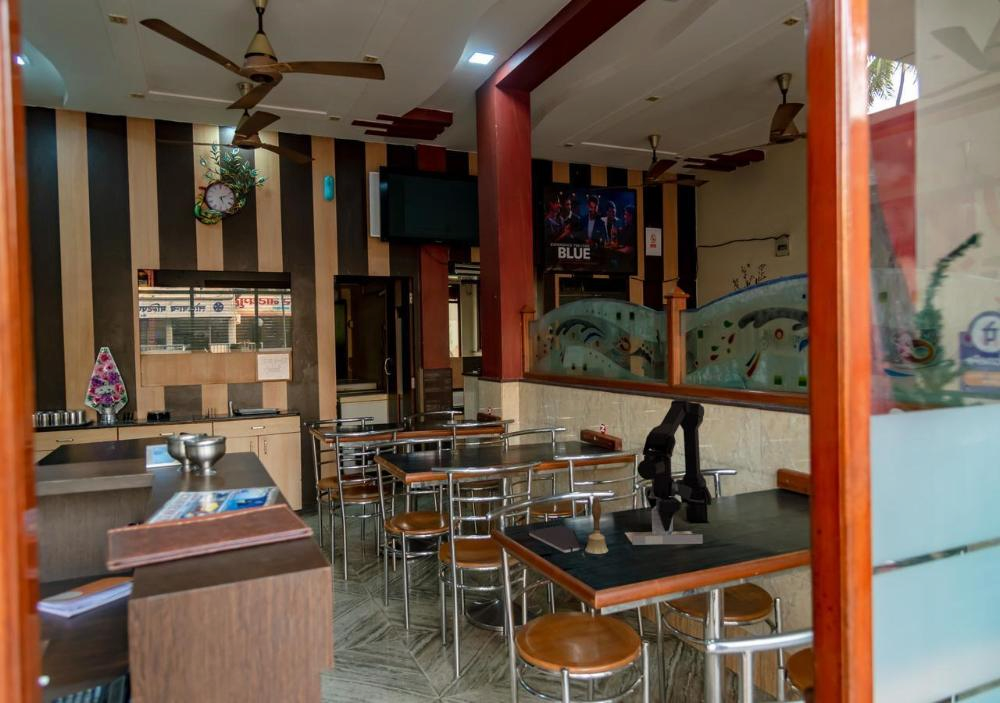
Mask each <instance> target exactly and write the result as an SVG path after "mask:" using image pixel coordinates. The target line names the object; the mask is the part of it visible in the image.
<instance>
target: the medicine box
mask: <svg viewBox="0 0 1000 703" xmlns="http://www.w3.org/2000/svg"><path fill="white" fill-rule="evenodd" d="M656 508H657V505H656V506H655V507H654V508H653V509H652V510H651V528H652V529H651V532H652V535H663V534H672V532H674V522H673V521H674V519H673V518H674V517H672V521H671V524H670V528H669V531H665V530H664V528H663V525H662V522H661V520H660V517H659V514H658V511H657V509H656Z"/></svg>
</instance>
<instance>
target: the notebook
mask: <svg viewBox="0 0 1000 703" xmlns="http://www.w3.org/2000/svg"><path fill="white" fill-rule="evenodd" d="M528 534H529V536H530V537H532V538H534V539H536V540H539V541H540V542H543V543H544V544H547V545H548V546H550V547H553V548H554V549H556V550H558V551H560V552H562V553H572V552H575V551H580V550H583V548H582V546H581V544H580V541H579V539H578V537H577V534H576V531H575V530H574V529H570V528H568V527H567V526H563V525H557V526H556V525H555V526H550V527H545V528H544V527H543V528H538V529H532V530H528Z"/></svg>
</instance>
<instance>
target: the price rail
mask: <svg viewBox="0 0 1000 703" xmlns="http://www.w3.org/2000/svg"><path fill="white" fill-rule="evenodd" d="M703 536H704V535H703V534H702V533H692V534H663V535H632V543H631V545H633V546H636V545H638V546H640V545H641V546H642V544H650V545H687V544H688V545H689V544H690V543H699V544H704V542H703V541H704V540H703Z"/></svg>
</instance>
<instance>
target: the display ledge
mask: <svg viewBox="0 0 1000 703" xmlns="http://www.w3.org/2000/svg"><path fill="white" fill-rule="evenodd" d="M624 534H625V535H626V537H627V538H628V540H629V541H630V542H631V544H632V535H652V531H645V532H644V531H643V532H640V531H638V532H637V531H636V532H624ZM672 534H693V532H692V531H691V530H690V531H689V530H688V531H687V530H686V531H685V530H684V531H673V532H672ZM690 544H691V545H693V544H695V545H696V544H700V543H690ZM642 545H643V546H644V545H646V546H648V545H651V544H642ZM642 545H641V546H642Z"/></svg>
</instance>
